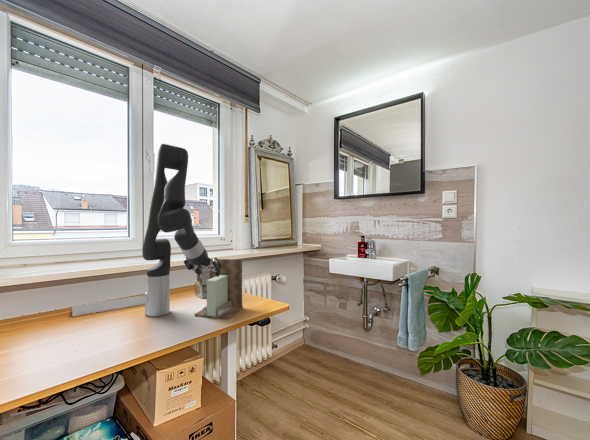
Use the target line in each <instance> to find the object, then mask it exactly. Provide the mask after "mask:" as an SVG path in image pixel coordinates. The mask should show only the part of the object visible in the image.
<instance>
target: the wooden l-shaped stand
mask: <svg viewBox="0 0 590 440" xmlns="http://www.w3.org/2000/svg"><path fill="white" fill-rule="evenodd" d="M217 259H218V261H219V262H220V264H221V265H222V267H221V270H220V272H221V273H220V275H228V302H227V303H226V304H224V305H222V306H221V307H219V308H218V309H217V315H216V316H208V315H207V305H205V306H204V307H203V308H202V309H201V310H199V311H197V312H195V313H194V317H197V318H198V317H200V318H209V319H222V320H223V319H225V320H229V319H231V318H232V317H233V316H235V315H236V314H237V313H239V312H240V311H241V310H242V309H243V308H244V306H243V259H235V258H233V259H229V258H228V259H227V258H217ZM210 265H211V264H209V266H210ZM213 268H214V269H215V267H214V266H213ZM214 277H216V275H215V273H214V271H212V270H210V279H211V278H214Z"/></svg>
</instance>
